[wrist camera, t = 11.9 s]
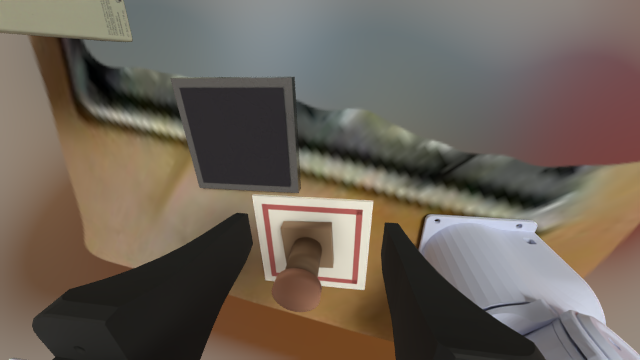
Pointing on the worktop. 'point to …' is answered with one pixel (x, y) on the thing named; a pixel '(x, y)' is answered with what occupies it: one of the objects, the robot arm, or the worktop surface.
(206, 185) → the ink pad
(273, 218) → the marked sheet
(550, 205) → the worktop surface
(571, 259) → the worktop surface
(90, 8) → the skincare box
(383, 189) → the worktop surface
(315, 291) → the stamp
